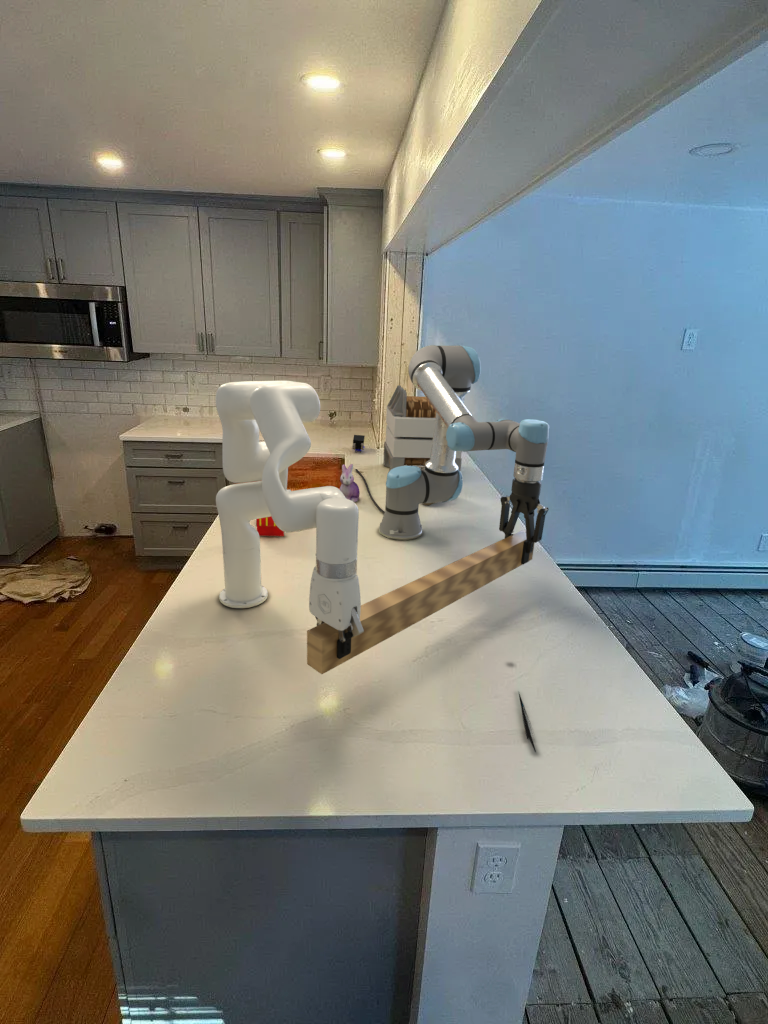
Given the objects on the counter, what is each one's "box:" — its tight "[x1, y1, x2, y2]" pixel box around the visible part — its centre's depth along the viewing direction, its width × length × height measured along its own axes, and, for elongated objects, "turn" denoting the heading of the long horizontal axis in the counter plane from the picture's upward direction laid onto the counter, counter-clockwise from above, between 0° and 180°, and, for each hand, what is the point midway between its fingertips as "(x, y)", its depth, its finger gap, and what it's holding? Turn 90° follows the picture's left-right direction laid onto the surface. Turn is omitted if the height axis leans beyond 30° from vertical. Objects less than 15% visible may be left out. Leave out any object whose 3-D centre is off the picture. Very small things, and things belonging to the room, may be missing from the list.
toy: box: [255, 489, 292, 537], centre depth 204 cm, size 12×13×30 cm
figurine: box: [339, 463, 361, 503], centre depth 229 cm, size 9×10×15 cm
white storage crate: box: [383, 384, 463, 473], centre depth 268 cm, size 34×33×41 cm
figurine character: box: [351, 434, 365, 454], centre depth 311 cm, size 7×8×15 cm
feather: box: [517, 691, 537, 753], centre depth 115 cm, size 2×28×2 cm
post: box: [306, 530, 536, 675], centre depth 133 cm, size 78×4×8 cm, turn 137°
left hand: (334, 649), depth 110 cm, fingers closed on post, 4 cm apart
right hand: (516, 559), depth 158 cm, fingers closed on post, 4 cm apart
